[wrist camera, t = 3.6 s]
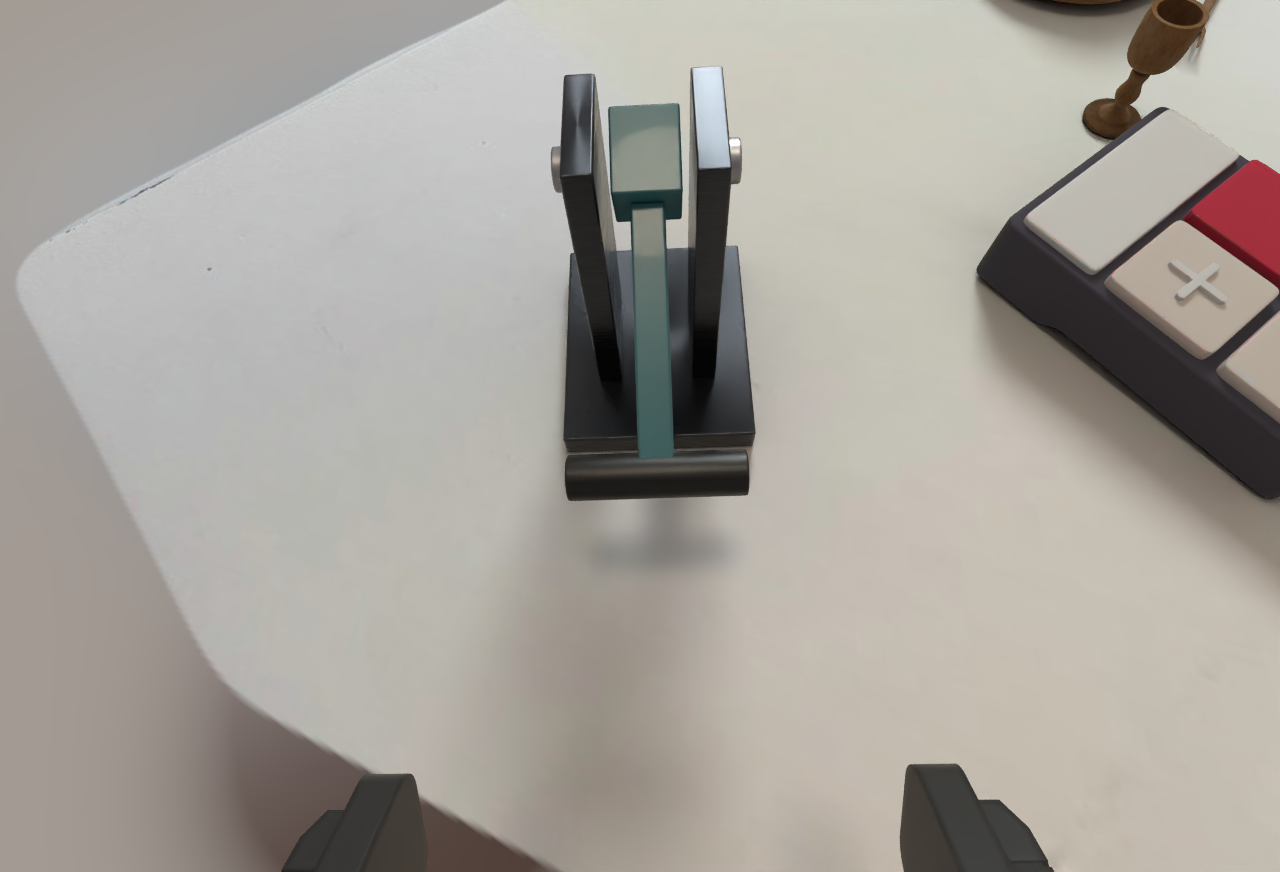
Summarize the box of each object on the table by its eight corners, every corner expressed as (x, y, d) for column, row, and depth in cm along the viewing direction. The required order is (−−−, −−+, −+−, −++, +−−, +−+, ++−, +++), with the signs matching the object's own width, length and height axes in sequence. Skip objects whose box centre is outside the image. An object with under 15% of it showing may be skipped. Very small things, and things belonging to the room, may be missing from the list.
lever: (743, 494, 24) (752, 495, 21) (573, 500, 24) (562, 501, 21) (728, 137, 24) (735, 98, 22) (564, 145, 25) (553, 108, 22)
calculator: (1351, 471, 25) (1012, 207, 30) (1256, 509, 29) (970, 271, 34) (1510, 305, 28) (1174, 88, 33) (1403, 361, 32) (1118, 159, 36)
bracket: (753, 446, 31) (796, 242, 19) (567, 452, 31) (500, 255, 20) (736, 261, 35) (762, 5, 24) (573, 268, 35) (521, 19, 24)
